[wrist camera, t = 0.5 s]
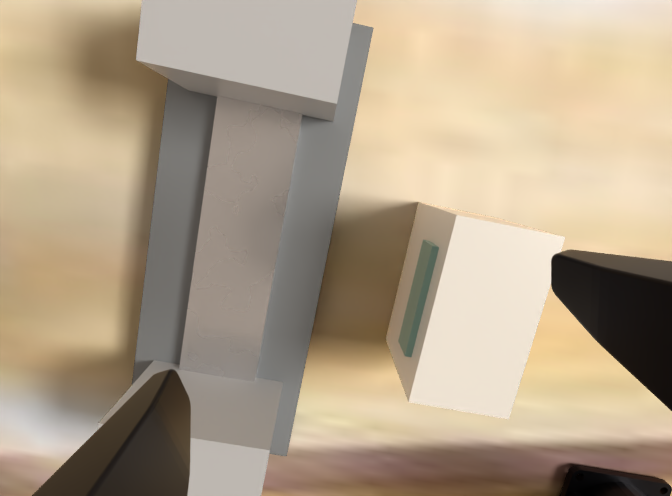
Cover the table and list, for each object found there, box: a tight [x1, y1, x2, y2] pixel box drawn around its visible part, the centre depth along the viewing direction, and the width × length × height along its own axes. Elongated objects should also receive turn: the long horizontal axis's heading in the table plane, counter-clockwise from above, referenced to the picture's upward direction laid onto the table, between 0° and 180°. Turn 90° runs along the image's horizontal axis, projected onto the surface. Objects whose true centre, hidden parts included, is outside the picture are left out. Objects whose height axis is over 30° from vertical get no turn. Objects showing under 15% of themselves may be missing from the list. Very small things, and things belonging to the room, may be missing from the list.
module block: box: [386, 202, 565, 419], centre depth 20 cm, size 5×8×6 cm, turn 168°
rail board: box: [98, 0, 373, 496], centre depth 19 cm, size 9×23×7 cm, turn 168°
